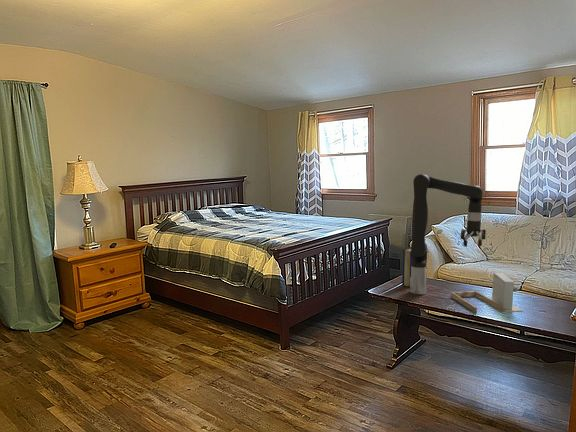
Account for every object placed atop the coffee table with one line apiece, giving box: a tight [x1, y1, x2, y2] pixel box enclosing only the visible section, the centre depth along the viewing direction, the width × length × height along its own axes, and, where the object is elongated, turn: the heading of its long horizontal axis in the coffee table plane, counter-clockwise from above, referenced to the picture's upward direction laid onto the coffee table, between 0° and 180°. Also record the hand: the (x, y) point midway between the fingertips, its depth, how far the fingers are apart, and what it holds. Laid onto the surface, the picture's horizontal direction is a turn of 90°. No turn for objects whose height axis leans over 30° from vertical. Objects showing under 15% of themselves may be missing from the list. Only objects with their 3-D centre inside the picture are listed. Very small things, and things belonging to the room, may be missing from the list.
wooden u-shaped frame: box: [450, 290, 504, 314], centre depth 254 cm, size 16×29×3 cm, turn 4°
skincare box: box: [491, 272, 515, 309], centre depth 251 cm, size 21×6×16 cm, turn 171°
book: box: [401, 247, 412, 287], centre depth 297 cm, size 22×7×25 cm, turn 134°
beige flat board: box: [489, 296, 524, 313], centre depth 251 cm, size 10×24×1 cm, turn 4°
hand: (472, 246), depth 261 cm, fingers open, 8 cm apart
